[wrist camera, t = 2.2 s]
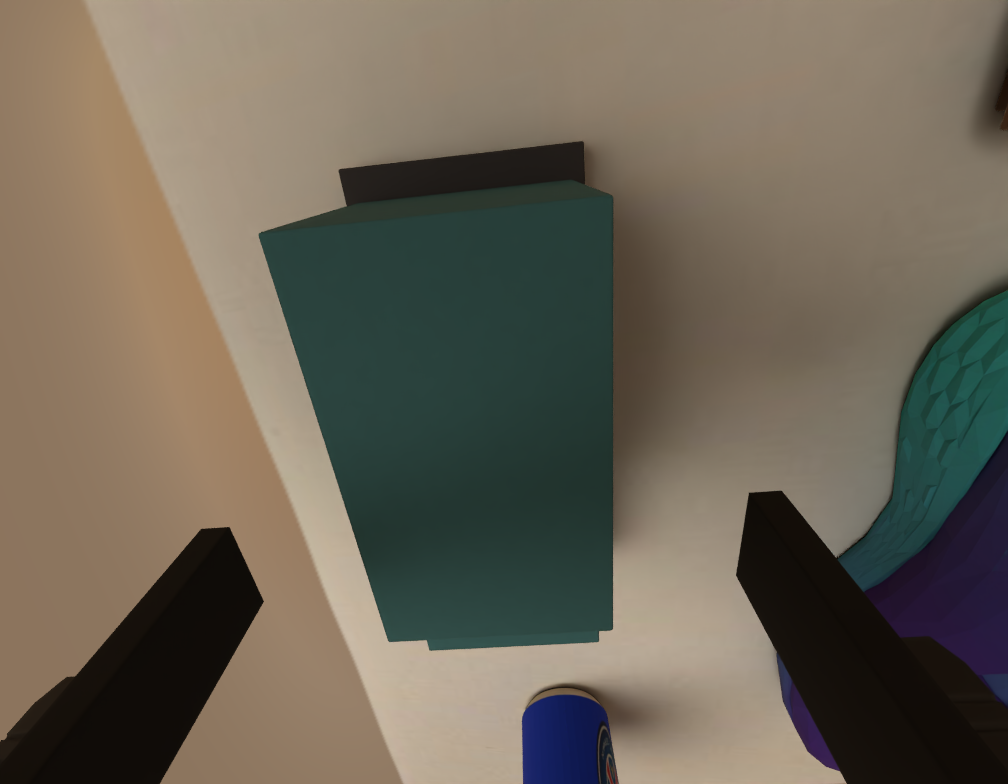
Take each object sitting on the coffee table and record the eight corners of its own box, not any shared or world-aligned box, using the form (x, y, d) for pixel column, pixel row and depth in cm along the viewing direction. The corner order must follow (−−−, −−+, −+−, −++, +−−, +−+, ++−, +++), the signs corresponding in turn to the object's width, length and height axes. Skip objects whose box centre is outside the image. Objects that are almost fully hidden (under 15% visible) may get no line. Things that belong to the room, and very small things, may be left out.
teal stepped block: (352, 168, 16) (219, 177, 9) (577, 142, 15) (634, 130, 8) (439, 561, 24) (408, 736, 17) (589, 552, 23) (623, 728, 16)
